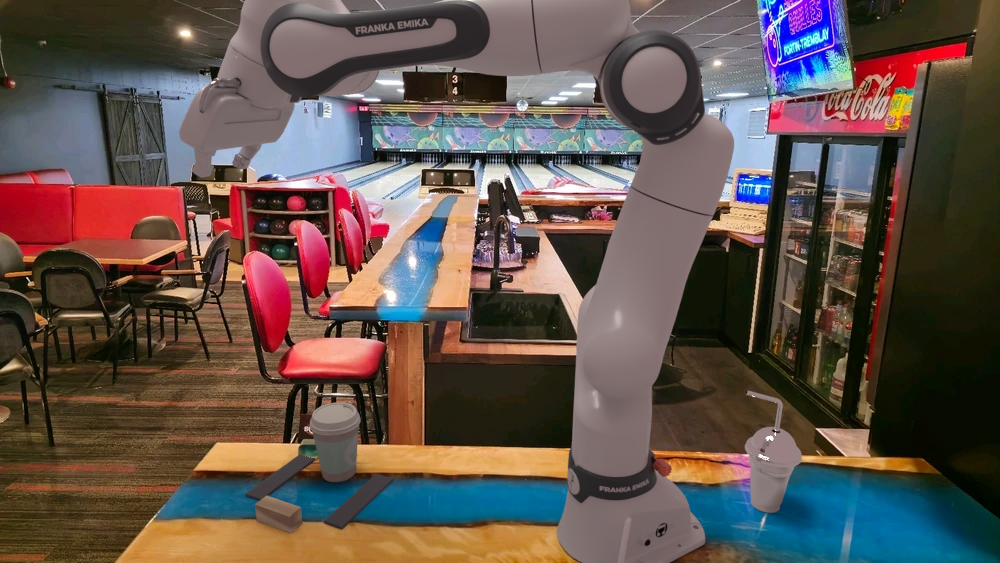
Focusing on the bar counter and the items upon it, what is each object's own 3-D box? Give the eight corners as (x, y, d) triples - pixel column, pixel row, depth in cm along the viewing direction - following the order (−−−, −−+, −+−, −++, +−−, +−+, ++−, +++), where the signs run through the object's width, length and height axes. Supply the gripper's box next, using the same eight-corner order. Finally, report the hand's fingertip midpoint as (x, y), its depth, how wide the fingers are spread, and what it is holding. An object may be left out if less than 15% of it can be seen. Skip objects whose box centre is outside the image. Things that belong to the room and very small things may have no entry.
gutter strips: (303, 453, 116) (302, 451, 116) (392, 480, 108) (392, 478, 108) (245, 495, 104) (245, 493, 104) (342, 529, 96) (341, 527, 96)
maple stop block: (268, 511, 100) (266, 495, 99) (302, 523, 97) (300, 507, 96) (256, 520, 98) (254, 504, 97) (291, 533, 95) (289, 516, 94)
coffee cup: (351, 490, 106) (346, 427, 102) (305, 483, 107) (299, 422, 104) (371, 462, 114) (367, 403, 110) (328, 456, 115) (323, 398, 112)
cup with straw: (782, 528, 97) (800, 414, 91) (726, 503, 103) (740, 394, 97) (800, 503, 103) (819, 394, 97) (746, 481, 109) (761, 377, 103)
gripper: (233, 91, 73) (195, 193, 77) (309, 92, 92) (275, 173, 96) (186, 63, 72) (151, 167, 77) (272, 71, 92) (240, 153, 96)
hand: (221, 171), depth 87 cm, fingers open, 8 cm apart
